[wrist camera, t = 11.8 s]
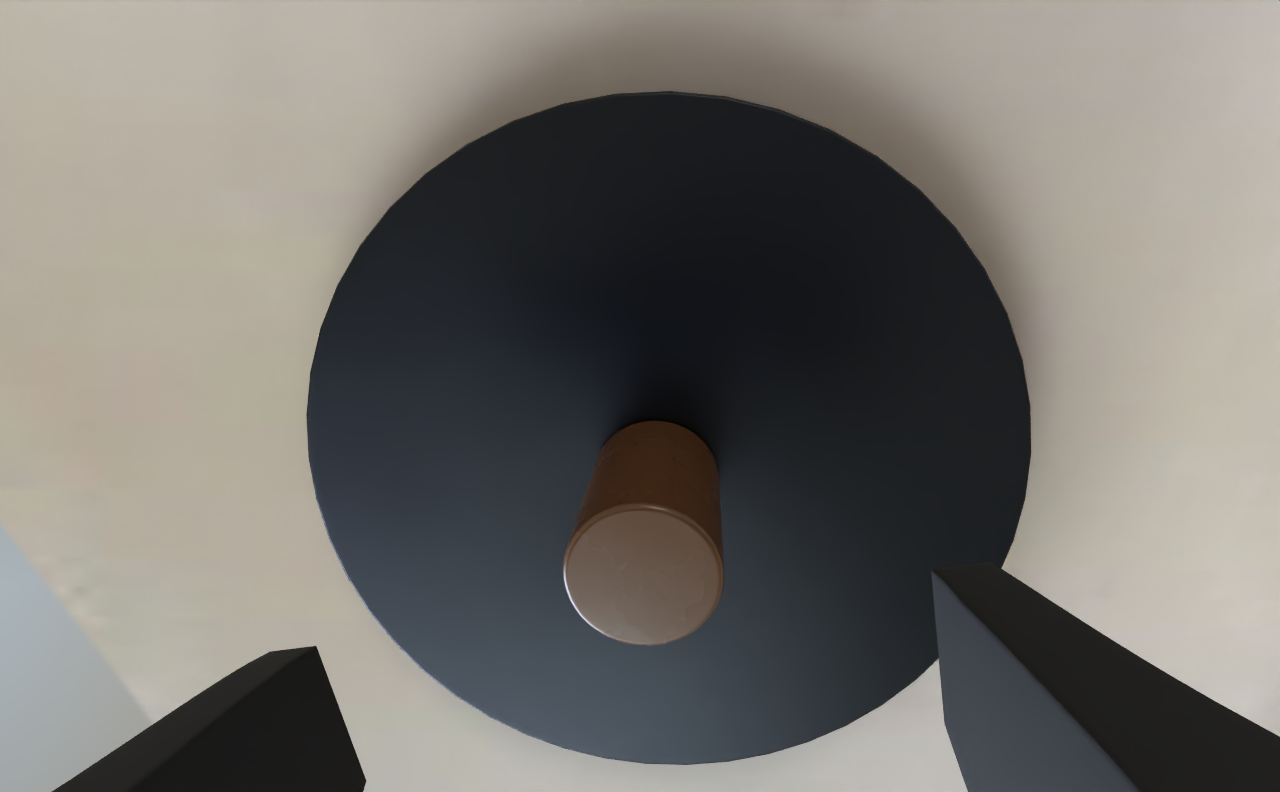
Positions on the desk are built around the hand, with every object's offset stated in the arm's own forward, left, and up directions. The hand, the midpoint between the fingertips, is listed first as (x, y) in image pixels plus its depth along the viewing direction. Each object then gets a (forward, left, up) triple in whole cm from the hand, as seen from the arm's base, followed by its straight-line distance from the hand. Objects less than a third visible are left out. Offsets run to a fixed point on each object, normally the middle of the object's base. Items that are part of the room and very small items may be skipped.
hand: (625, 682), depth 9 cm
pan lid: (0, 0, -7) cm, 7 cm away
